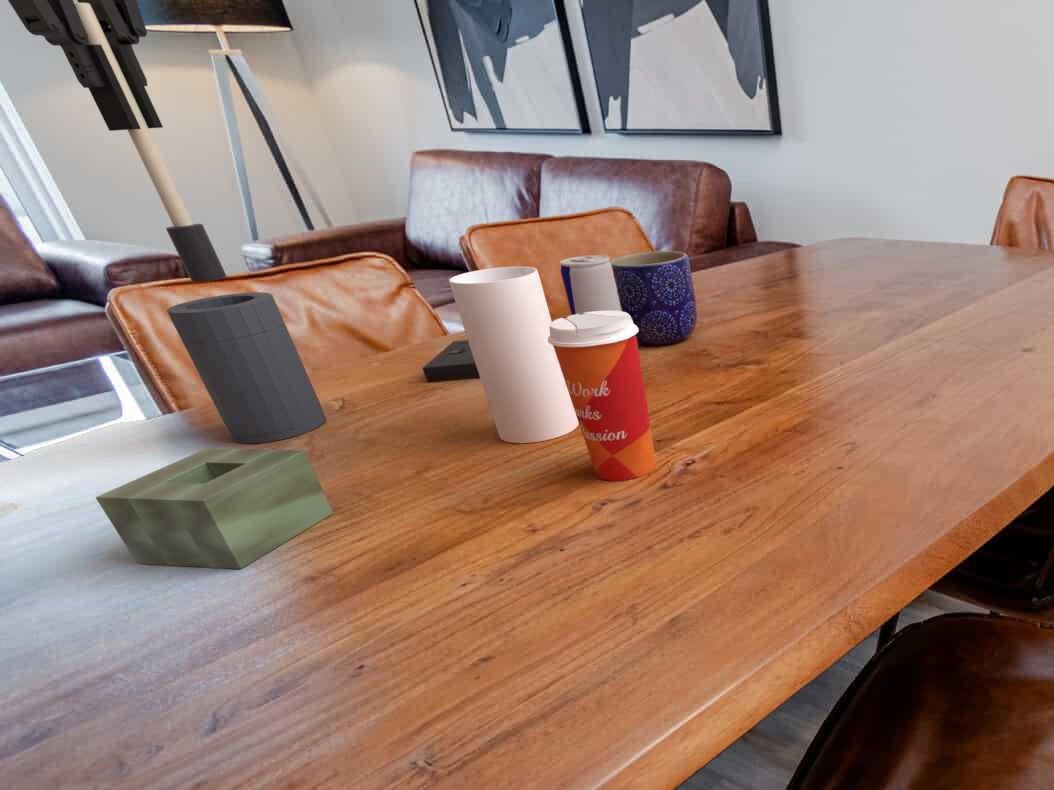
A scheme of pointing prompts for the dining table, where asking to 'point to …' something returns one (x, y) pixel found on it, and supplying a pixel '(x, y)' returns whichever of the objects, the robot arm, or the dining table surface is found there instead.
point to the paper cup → (606, 390)
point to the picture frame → (452, 364)
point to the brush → (160, 174)
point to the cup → (515, 352)
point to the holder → (217, 507)
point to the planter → (657, 295)
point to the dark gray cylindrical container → (249, 366)
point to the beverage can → (590, 284)
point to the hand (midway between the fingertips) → (136, 128)
